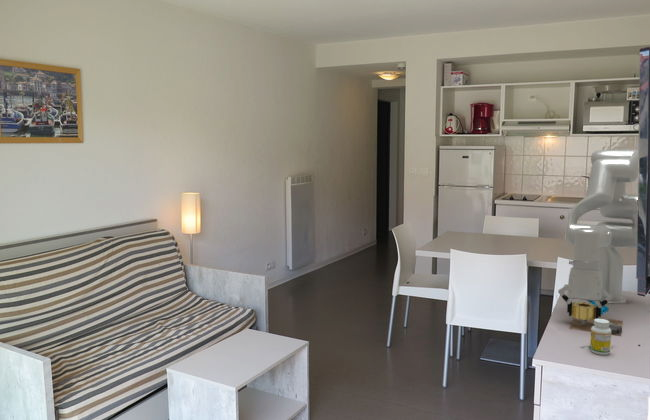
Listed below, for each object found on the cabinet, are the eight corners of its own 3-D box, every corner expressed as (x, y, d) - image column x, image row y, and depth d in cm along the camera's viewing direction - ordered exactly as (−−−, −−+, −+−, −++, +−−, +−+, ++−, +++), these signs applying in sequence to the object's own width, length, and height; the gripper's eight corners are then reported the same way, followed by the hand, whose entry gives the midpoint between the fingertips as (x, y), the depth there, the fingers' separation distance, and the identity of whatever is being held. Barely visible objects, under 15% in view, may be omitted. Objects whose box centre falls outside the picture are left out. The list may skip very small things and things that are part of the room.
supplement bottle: (607, 356, 155) (609, 324, 154) (587, 352, 158) (589, 321, 157) (612, 351, 159) (613, 320, 158) (592, 347, 162) (594, 316, 161)
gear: (602, 315, 187) (584, 291, 192) (588, 324, 191) (571, 300, 196) (616, 313, 194) (598, 290, 199) (603, 321, 197) (586, 298, 203)
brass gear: (567, 313, 182) (567, 302, 182) (588, 313, 182) (589, 301, 182) (578, 320, 175) (579, 308, 174) (600, 319, 175) (601, 308, 175)
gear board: (574, 317, 190) (575, 304, 189) (623, 324, 182) (623, 310, 182) (569, 332, 176) (569, 318, 175) (621, 339, 168) (621, 325, 167)
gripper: (556, 264, 178) (554, 315, 180) (615, 270, 169) (612, 323, 171) (559, 260, 184) (557, 310, 186) (616, 265, 175) (613, 317, 177)
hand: (583, 316), depth 179 cm, fingers closed on brass gear, 7 cm apart
